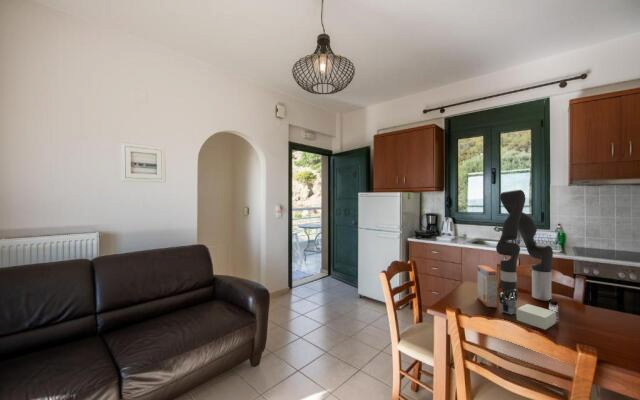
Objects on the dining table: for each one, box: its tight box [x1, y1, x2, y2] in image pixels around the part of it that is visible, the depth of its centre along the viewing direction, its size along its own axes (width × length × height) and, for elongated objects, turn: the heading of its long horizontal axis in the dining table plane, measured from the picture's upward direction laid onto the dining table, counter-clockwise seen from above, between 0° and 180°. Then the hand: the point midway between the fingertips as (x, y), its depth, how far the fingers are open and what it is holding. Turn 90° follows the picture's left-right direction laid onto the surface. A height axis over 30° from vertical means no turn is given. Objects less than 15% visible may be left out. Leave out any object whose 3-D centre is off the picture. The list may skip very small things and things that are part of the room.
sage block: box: [516, 303, 557, 330], centre depth 136 cm, size 12×12×6 cm
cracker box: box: [477, 264, 498, 308], centre depth 160 cm, size 14×6×21 cm, turn 168°
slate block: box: [500, 298, 517, 315], centre depth 146 cm, size 5×5×7 cm
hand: (508, 310), depth 146 cm, fingers closed on slate block, 5 cm apart
